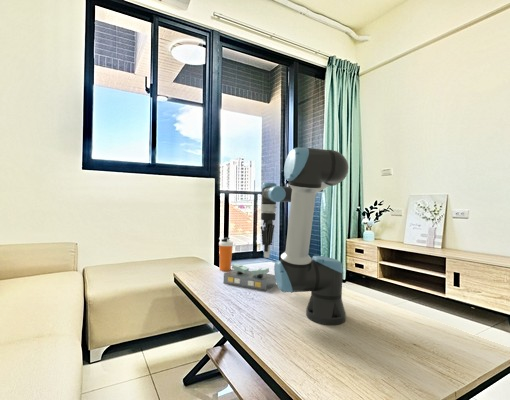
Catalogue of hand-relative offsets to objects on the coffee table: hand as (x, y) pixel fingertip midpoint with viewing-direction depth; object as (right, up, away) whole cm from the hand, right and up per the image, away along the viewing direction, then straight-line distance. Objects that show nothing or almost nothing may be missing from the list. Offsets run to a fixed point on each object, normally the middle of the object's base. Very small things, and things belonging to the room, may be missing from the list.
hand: (266, 257), depth 145 cm
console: (-9, -15, +4) cm, 18 cm away
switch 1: (-14, -7, +7) cm, 17 cm away
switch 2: (-3, -8, +1) cm, 8 cm away
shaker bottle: (-25, -15, +32) cm, 43 cm away
